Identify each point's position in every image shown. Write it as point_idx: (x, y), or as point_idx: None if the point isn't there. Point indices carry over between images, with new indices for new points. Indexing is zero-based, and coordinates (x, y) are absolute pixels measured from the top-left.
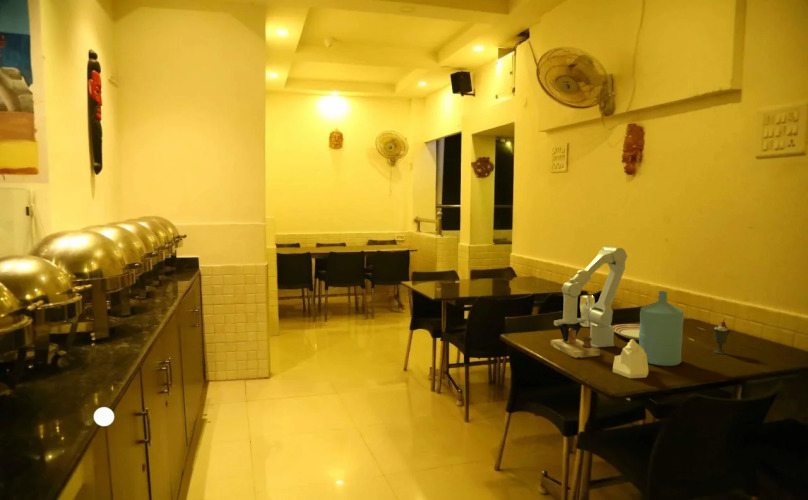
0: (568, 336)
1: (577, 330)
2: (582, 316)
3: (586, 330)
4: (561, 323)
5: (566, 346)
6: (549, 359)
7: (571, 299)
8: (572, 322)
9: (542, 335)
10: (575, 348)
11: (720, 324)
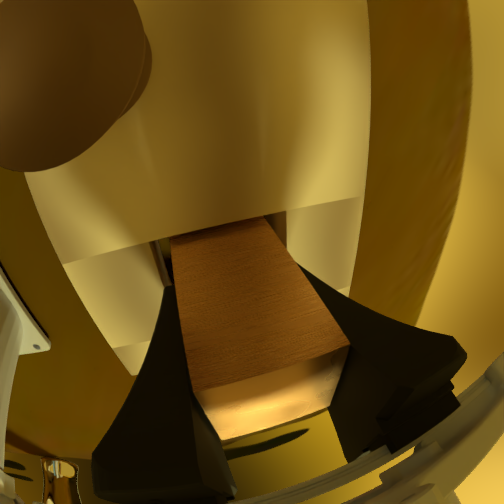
0: (302, 282)
1: (157, 395)
2: (74, 492)
3: (55, 445)
4: (454, 421)
5: (344, 128)
6: (467, 34)
7: None
8: (443, 499)
9: None
10: (287, 29)
11: None
